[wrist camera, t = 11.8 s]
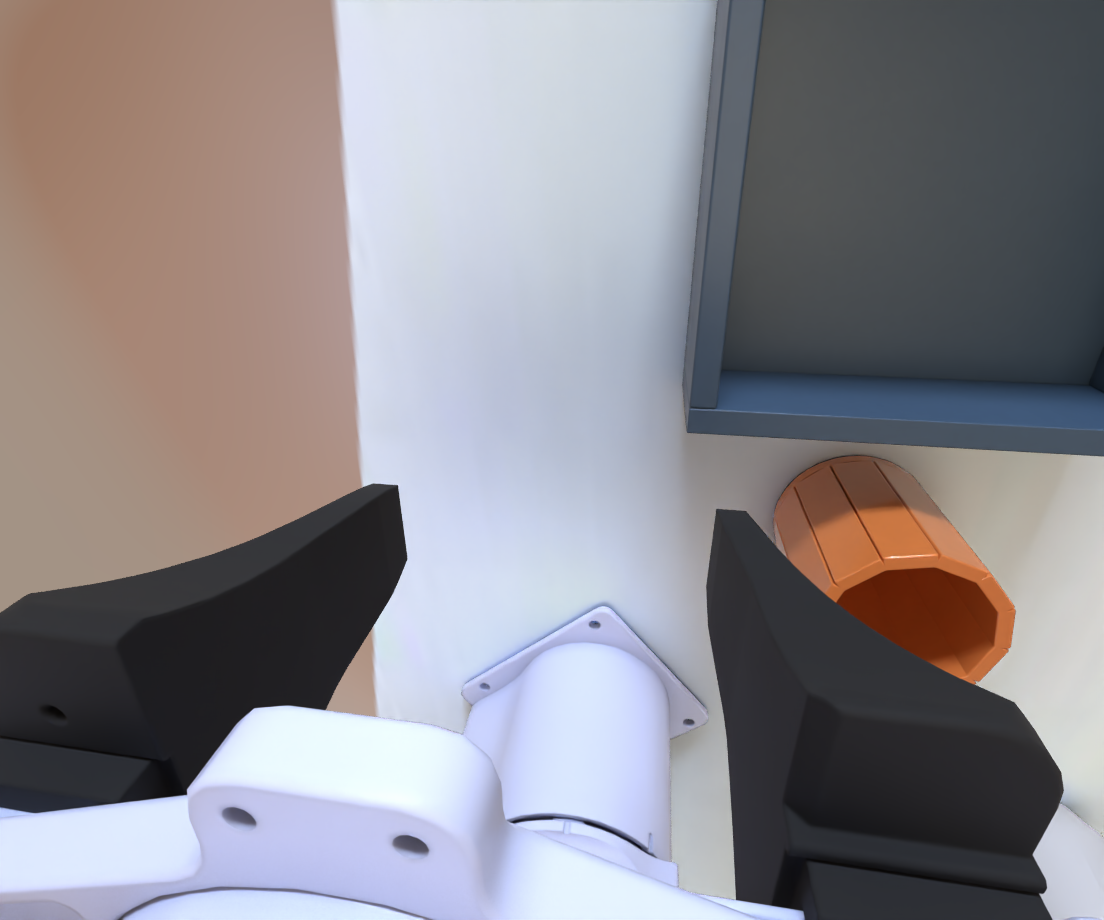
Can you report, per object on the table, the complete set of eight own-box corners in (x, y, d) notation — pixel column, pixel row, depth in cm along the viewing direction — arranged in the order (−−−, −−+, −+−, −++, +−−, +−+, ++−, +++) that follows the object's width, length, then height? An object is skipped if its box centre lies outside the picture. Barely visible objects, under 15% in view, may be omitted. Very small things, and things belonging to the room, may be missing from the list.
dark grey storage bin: (1096, 404, 20) (1201, 462, 16) (682, 385, 22) (686, 433, 18) (1316, -135, 14) (1565, -248, 10) (726, -96, 16) (746, -179, 12)
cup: (821, 598, 25) (868, 726, 20) (744, 505, 24) (771, 613, 18) (953, 533, 23) (1050, 655, 17) (877, 427, 22) (954, 521, 16)
